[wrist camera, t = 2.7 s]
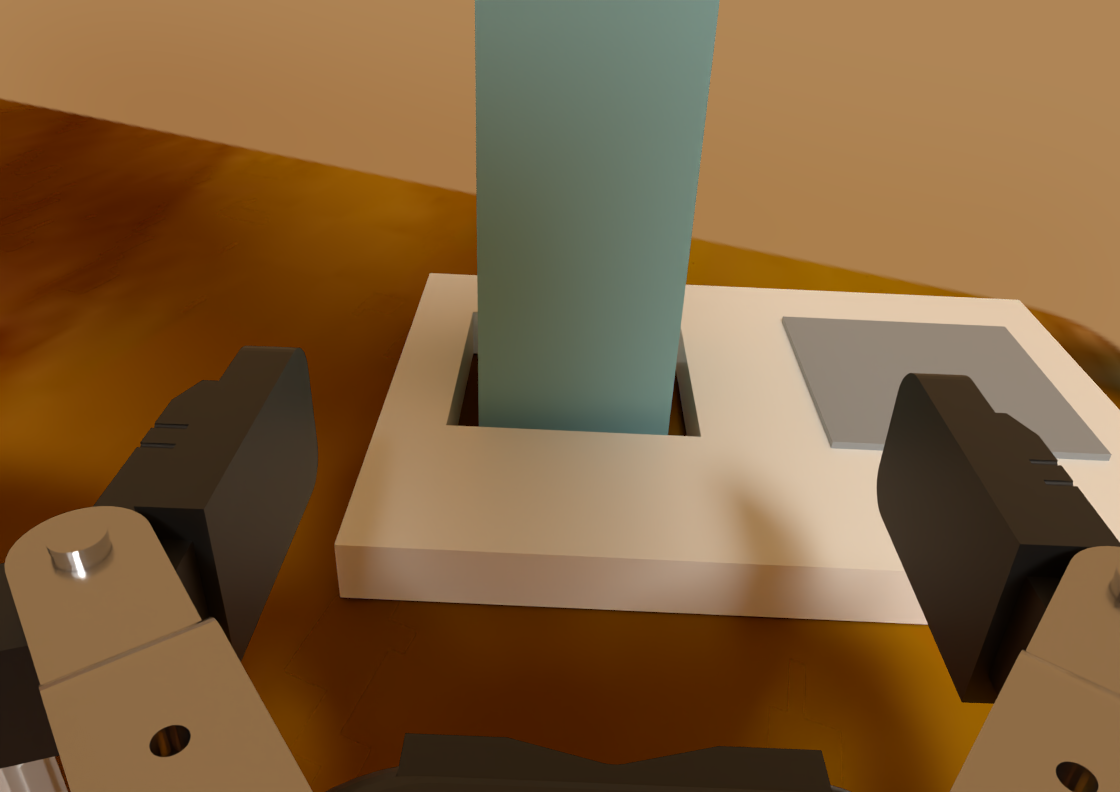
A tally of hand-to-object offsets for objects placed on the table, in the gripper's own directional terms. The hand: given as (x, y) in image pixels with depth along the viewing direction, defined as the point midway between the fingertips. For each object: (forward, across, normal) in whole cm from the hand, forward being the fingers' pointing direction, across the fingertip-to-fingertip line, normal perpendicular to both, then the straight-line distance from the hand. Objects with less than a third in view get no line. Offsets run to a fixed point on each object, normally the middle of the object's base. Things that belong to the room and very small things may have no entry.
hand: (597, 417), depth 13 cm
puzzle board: (+11, -5, +8) cm, 15 cm away
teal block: (+12, 0, +8) cm, 15 cm away
